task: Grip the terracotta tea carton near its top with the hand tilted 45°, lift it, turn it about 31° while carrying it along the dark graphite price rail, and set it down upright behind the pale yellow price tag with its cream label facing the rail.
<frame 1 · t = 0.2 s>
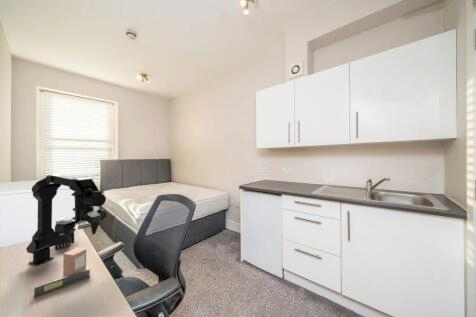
hand: (83, 238, 83), 15 cm above the table, tool pointing down, fingers open, 9 cm apart
battery charger: (63, 247, 104), on the table
tea carton: (74, 273, 81), on the table
syrup box: (64, 242, 110), on the table
price rail: (64, 285, 73), on the table
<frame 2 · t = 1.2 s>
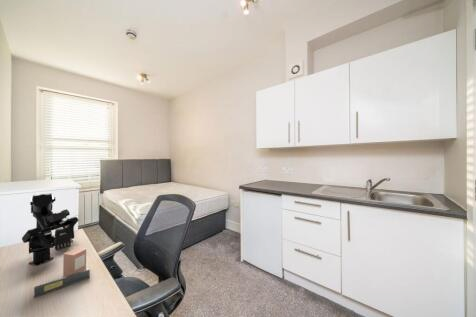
hand: (62, 242, 83), 13 cm above the table, tool tilted 45°, fingers open, 9 cm apart
nothing on the table moved.
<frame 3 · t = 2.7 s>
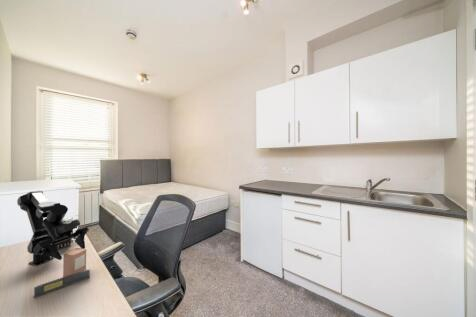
hand: (73, 253, 81), 9 cm above the table, tool tilted 45°, fingers open, 9 cm apart
nothing on the table moved.
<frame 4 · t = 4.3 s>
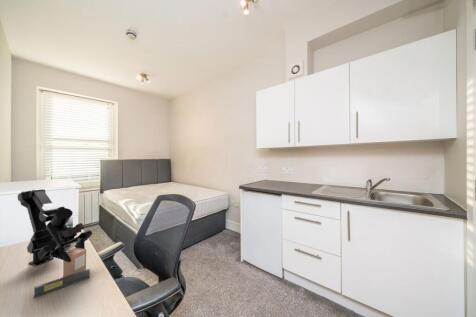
hand: (77, 258, 80), 7 cm above the table, tool tilted 45°, fingers closed on tea carton, 5 cm apart
tea carton: (74, 273, 81), on the table, touching gripper
everything else where it was.
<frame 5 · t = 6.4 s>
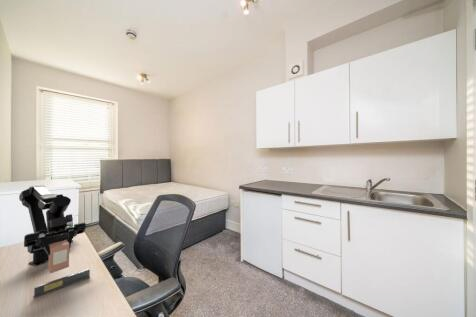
hand: (59, 251, 75), 13 cm above the table, tool tilted 45°, fingers closed on tea carton, 5 cm apart
tea carton: (58, 267, 75), point 6 cm above the table, touching gripper
everything else where it was.
when the fingers open (8 cm above the table, at t = 8.6 s): tea carton drops 1 cm, on the table.
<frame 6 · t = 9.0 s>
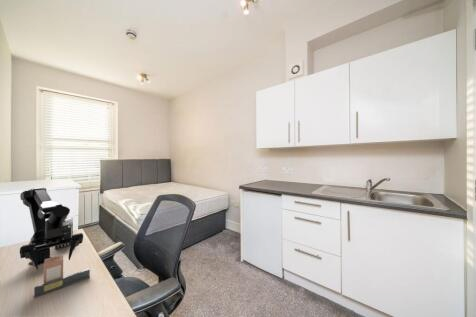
hand: (53, 264, 73), 9 cm above the table, tool tilted 45°, fingers open, 9 cm apart
tea carton: (53, 283, 74), on the table
everything else where it was.
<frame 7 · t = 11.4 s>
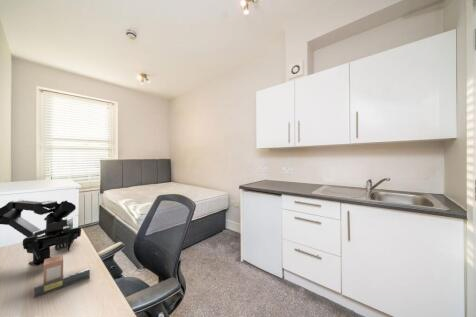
hand: (53, 255, 80), 9 cm above the table, tool tilted 45°, fingers open, 9 cm apart
nothing on the table moved.
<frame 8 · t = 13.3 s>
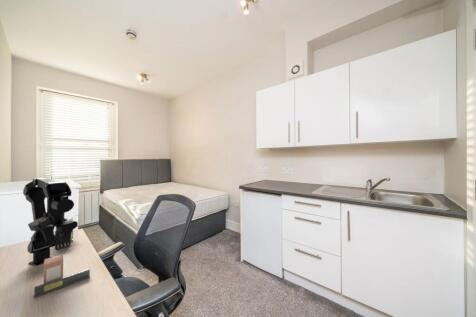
hand: (55, 242, 82), 13 cm above the table, tool pointing down, fingers open, 9 cm apart
nothing on the table moved.
at the end: tea carton 0.0 cm from the target spot, on the table; tea carton tilted 0°; the gripper is holding nothing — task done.
